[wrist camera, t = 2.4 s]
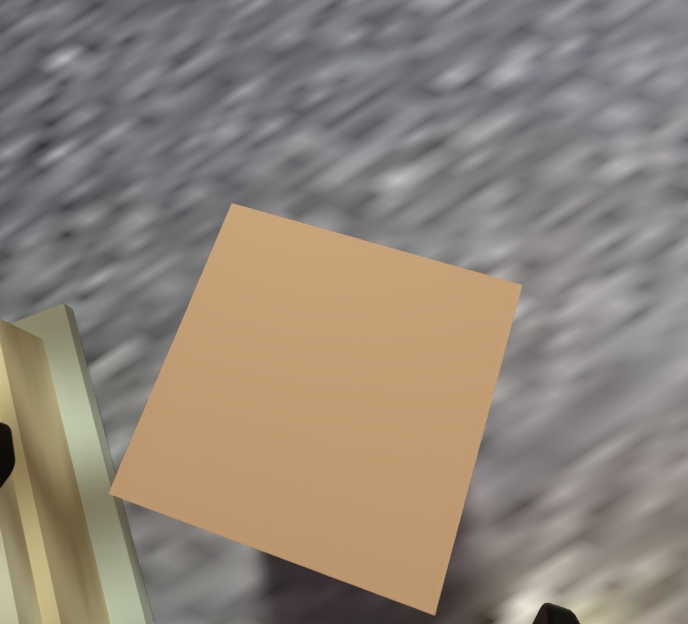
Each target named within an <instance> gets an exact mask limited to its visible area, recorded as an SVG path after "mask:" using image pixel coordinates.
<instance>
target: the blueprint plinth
mask: <svg viewBox="0 0 688 624" xmlns="http://www.w3.org/2000/svg"><path fill="white" fill-rule="evenodd" d="M0 422H2V423H5V424H7V425H9V427H10V428H11V431H12V436H13V444H14V451H15V458H16V461H15V466H14V469H13V471H12V473H11V475H10V476H9V478H8V479H7V480H6V482H5V483H4V484H3V486H2V487H1V488H0V624H154V621H153V617H152V613H151V609H150V605H149V601H148V598H147V594H146V590H145V586H144V582H143V578H142V575H141V571H140V567H139V563H138V559H137V555H136V552H135V548H134V544H133V540H132V536H131V532H130V529H129V525H128V521H127V517H126V513H125V509H124V506H123V502H122V499H121V498H119V497H116V496H113V495H111V494H109V491H110V489H111V487H112V484H113V482H114V479H115V477H116V475H115V471H114V467H113V463H112V459H111V456H110V452H109V448H108V444H107V440H106V436H105V433H104V429H103V425H102V421H101V417H100V413H99V410H98V406H97V402H96V398H95V394H94V390H93V387H92V383H91V379H90V375H89V371H88V367H87V364H86V360H85V356H84V352H83V348H82V344H81V341H80V337H79V333H78V329H77V325H76V321H75V318H74V314H73V310H72V308H71V307H69V306H67V305H66V304H64V303H63V304H60V305H58V306H55V307H53V308H50V309H47V310H45V311H42V312H40V313H37V314H34V315H32V316H29V317H27V318H24V319H21V320H19V321H16V322H13V323H11V324H10V323H8V322H6V321H3V320H1V319H0Z"/></svg>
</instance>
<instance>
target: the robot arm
mask: <svg viewBox="0 0 688 624" xmlns="http://www.w3.org/2000/svg"><path fill="white" fill-rule="evenodd" d="M15 461H16V458H15V451H14V444H13V436H12V431H11V428H10V427H9V425H7V424H5V423H2V422H0V488H1V487H2V486H3V484H4V483H5V482H6V480H7V479H8V478H9V476H10V475H11V473H12V471H13V469H14V466H15ZM533 624H580V623H579V621H578V619H577V617H576V615H575V614H574V613H573V612H572V611H571V610H569V609H566V608H563V607H560V606H557V605H554V604H551V603H544V604H543V605H542V606H541V608H540V610H539V612H538V614H537V616H536V618H535V620H534V622H533Z"/></svg>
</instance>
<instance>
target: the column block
mask: <svg viewBox="0 0 688 624" xmlns="http://www.w3.org/2000/svg"><path fill="white" fill-rule="evenodd" d="M521 288H522V285H520V284H517V283H513V282H510V281H506V280H503V279H499V278H495V277H492V276H488V275H485V274H481V273H478V272H474V271H471V270H467V269H463V268H460V267H456V266H453V265H449V264H446V263H442V262H439V261H435V260H431V259H428V258H424V257H421V256H417V255H414V254H410V253H407V252H403V251H399V250H396V249H392V248H389V247H385V246H382V245H378V244H375V243H371V242H367V241H364V240H360V239H357V238H353V237H350V236H346V235H343V234H339V233H335V232H332V231H328V230H325V229H321V228H318V227H314V226H311V225H307V224H303V223H300V222H296V221H293V220H289V219H286V218H282V217H279V216H275V215H271V214H268V213H264V212H261V211H257V210H254V209H250V208H247V207H243V206H239V205H236V204H231V207H230V209H229V211H228V214H227V216H226V218H225V221H224V223H223V226H222V228H221V230H220V233H219V235H218V237H217V240H216V242H215V244H214V247H213V249H212V251H211V254H210V256H209V258H208V261H207V263H206V265H205V268H204V270H203V273H202V275H201V277H200V280H199V282H198V284H197V287H196V289H195V291H194V294H193V296H192V298H191V301H190V303H189V305H188V308H187V310H186V313H185V315H184V317H183V320H182V322H181V324H180V327H179V329H178V331H177V334H176V336H175V338H174V341H173V343H172V345H171V348H170V350H169V352H168V355H167V357H166V360H165V362H164V364H163V367H162V369H161V371H160V374H159V376H158V378H157V381H156V383H155V385H154V388H153V390H152V392H151V395H150V397H149V400H148V402H147V404H146V407H145V409H144V411H143V414H142V416H141V418H140V421H139V423H138V425H137V428H136V430H135V432H134V435H133V437H132V439H131V442H130V444H129V447H128V449H127V451H126V454H125V456H124V458H123V461H122V463H121V465H120V468H119V470H118V472H117V475H116V477H115V479H114V482H113V484H112V487H111V489H110V491H109V494H111V495H113V496H116V497H119V498H121V499H124V500H127V501H129V502H132V503H135V504H137V505H140V506H143V507H145V508H148V509H151V510H153V511H156V512H159V513H161V514H164V515H167V516H169V517H172V518H175V519H178V520H180V521H183V522H186V523H188V524H191V525H194V526H196V527H199V528H202V529H204V530H207V531H210V532H212V533H215V534H218V535H220V536H223V537H226V538H228V539H231V540H234V541H236V542H239V543H242V544H244V545H247V546H250V547H253V548H255V549H258V550H261V551H263V552H266V553H269V554H271V555H274V556H277V557H279V558H282V559H285V560H287V561H290V562H293V563H295V564H298V565H301V566H303V567H306V568H309V569H311V570H314V571H317V572H319V573H322V574H325V575H328V576H330V577H333V578H336V579H338V580H341V581H344V582H346V583H349V584H352V585H354V586H357V587H360V588H362V589H365V590H368V591H370V592H373V593H376V594H378V595H381V596H384V597H386V598H389V599H392V600H394V601H397V602H400V603H402V604H405V605H408V606H411V607H413V608H416V609H419V610H421V611H424V612H427V613H429V614H432V615H435V613H436V609H437V606H438V602H439V598H440V594H441V590H442V587H443V583H444V579H445V575H446V572H447V568H448V564H449V560H450V556H451V553H452V549H453V545H454V541H455V537H456V534H457V530H458V526H459V522H460V519H461V515H462V511H463V507H464V503H465V500H466V496H467V492H468V488H469V485H470V481H471V477H472V473H473V469H474V466H475V462H476V458H477V454H478V450H479V447H480V443H481V439H482V435H483V432H484V428H485V424H486V420H487V416H488V413H489V409H490V405H491V401H492V397H493V394H494V390H495V386H496V382H497V379H498V375H499V371H500V367H501V363H502V360H503V356H504V352H505V348H506V345H507V341H508V337H509V333H510V329H511V326H512V322H513V318H514V314H515V310H516V307H517V303H518V299H519V295H520V292H521Z"/></svg>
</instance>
